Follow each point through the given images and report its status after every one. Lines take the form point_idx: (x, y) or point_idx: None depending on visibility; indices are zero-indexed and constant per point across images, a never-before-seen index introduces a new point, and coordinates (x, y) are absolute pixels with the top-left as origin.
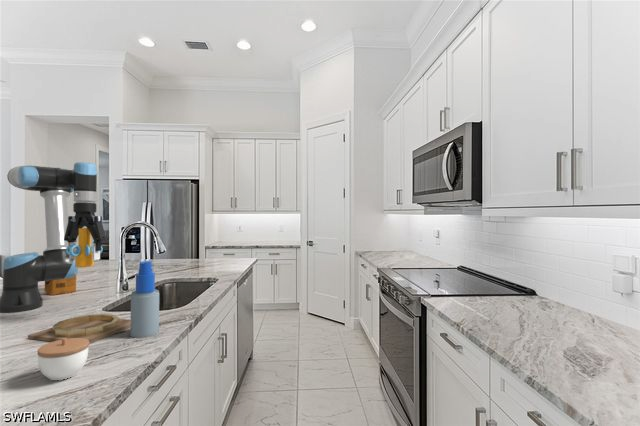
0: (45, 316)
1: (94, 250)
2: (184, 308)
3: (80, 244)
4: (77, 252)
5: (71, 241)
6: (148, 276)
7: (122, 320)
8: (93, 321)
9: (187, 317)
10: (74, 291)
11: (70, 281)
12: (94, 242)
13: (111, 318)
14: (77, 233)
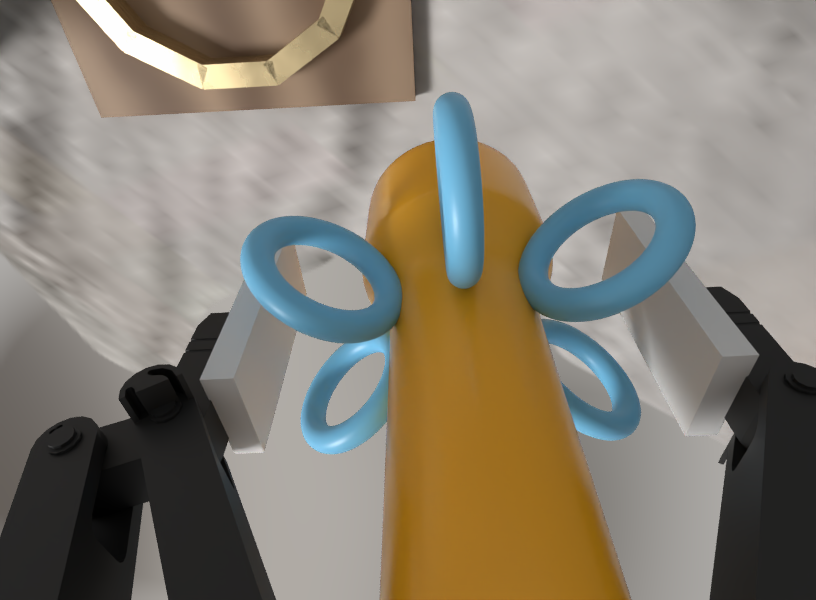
0: (696, 42)
1: (238, 303)
2: (178, 342)
3: (464, 326)
4: (523, 256)
5: (751, 393)
6: None
7: (174, 91)
8: (292, 19)
9: (37, 256)
10: None
11: None
12: (148, 370)
13: (197, 57)
14: (725, 573)
